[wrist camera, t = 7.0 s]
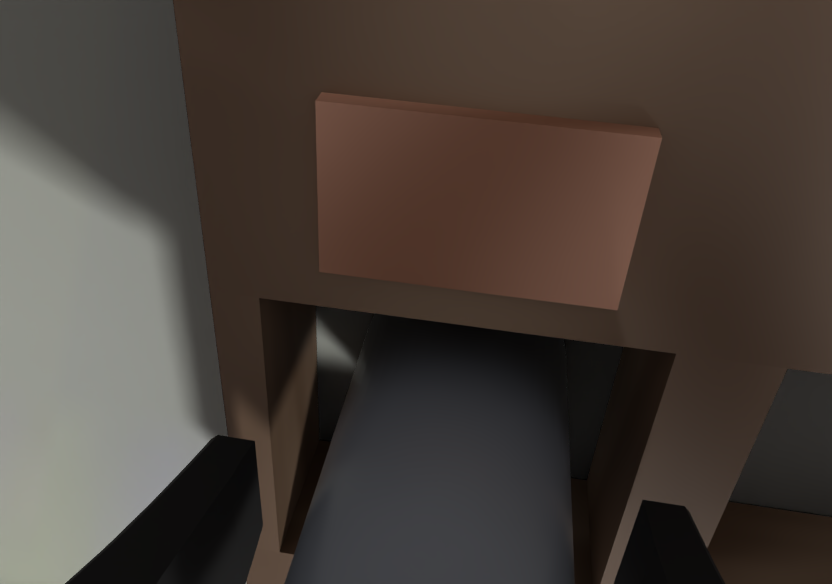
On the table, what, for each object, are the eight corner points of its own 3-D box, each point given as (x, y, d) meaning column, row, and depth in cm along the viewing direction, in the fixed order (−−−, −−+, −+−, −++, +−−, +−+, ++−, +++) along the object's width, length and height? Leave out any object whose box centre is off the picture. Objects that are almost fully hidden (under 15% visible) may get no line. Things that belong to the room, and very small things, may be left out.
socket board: (1458, -64, 9) (1859, 0, 6) (931, 609, 17) (1004, 766, 14) (249, -156, 10) (142, -137, 8) (291, 507, 18) (246, 632, 15)
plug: (581, 285, 13) (625, 861, 6) (550, 441, 16) (555, 994, 8) (366, 262, 14) (169, 776, 7) (365, 416, 16) (220, 926, 9)
